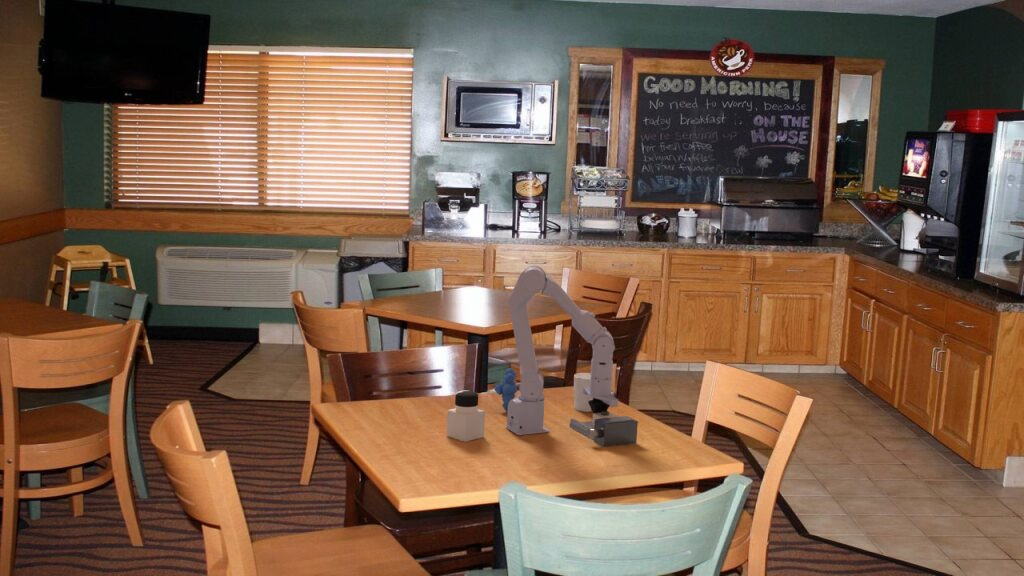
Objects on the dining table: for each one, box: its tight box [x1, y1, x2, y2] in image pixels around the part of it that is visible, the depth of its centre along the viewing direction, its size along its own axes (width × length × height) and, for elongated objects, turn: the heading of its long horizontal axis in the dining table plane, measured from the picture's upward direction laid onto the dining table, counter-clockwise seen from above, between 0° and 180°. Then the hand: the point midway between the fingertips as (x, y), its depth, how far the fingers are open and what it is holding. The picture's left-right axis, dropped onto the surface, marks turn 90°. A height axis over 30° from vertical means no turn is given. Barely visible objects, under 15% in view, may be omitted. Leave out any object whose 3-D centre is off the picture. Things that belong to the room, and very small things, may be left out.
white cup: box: [573, 372, 593, 413], centre depth 285 cm, size 8×8×10 cm
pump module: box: [592, 410, 620, 429], centre depth 257 cm, size 5×5×6 cm
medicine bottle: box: [446, 389, 486, 443], centre depth 252 cm, size 7×7×12 cm
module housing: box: [569, 415, 639, 448], centre depth 258 cm, size 13×19×6 cm
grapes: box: [494, 367, 518, 412], centre depth 280 cm, size 12×7×12 cm, turn 175°
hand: (598, 426), depth 260 cm, fingers closed, pressing on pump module
